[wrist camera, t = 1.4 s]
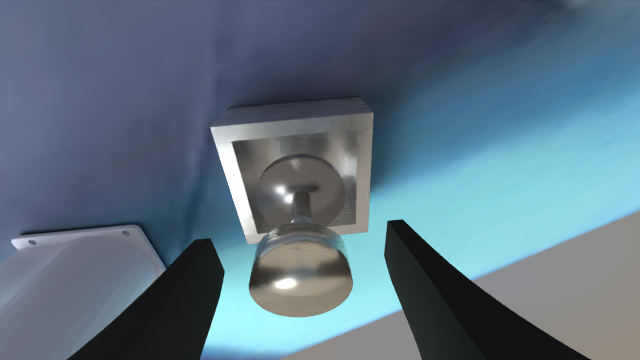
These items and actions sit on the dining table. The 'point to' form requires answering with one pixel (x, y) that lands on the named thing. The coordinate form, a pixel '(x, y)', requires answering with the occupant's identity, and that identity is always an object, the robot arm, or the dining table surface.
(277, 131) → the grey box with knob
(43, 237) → the robot arm
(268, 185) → the metal door knob
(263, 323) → the dining table surface
